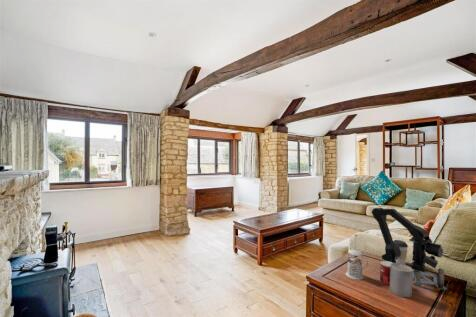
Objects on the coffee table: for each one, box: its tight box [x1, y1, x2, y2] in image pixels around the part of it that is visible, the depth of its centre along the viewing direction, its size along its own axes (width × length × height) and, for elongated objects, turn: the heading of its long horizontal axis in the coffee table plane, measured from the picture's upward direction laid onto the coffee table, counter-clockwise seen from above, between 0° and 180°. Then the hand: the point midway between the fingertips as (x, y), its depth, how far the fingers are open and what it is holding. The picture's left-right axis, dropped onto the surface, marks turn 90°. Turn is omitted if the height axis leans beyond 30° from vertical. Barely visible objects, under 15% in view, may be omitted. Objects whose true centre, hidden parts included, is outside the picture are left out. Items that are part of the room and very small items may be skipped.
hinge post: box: [434, 268, 448, 291], centre depth 129 cm, size 4×4×11 cm
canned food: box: [379, 260, 392, 287], centre depth 133 cm, size 8×8×11 cm
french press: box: [345, 233, 369, 280], centre depth 140 cm, size 10×12×25 cm
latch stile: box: [412, 270, 423, 288], centre depth 131 cm, size 4×3×8 cm
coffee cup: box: [393, 239, 409, 265], centre depth 160 cm, size 9×9×15 cm
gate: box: [412, 269, 438, 286], centre depth 133 cm, size 11×1×6 cm, turn 63°
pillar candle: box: [389, 263, 414, 298], centre depth 123 cm, size 10×10×15 cm
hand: (417, 276), depth 137 cm, fingers closed
